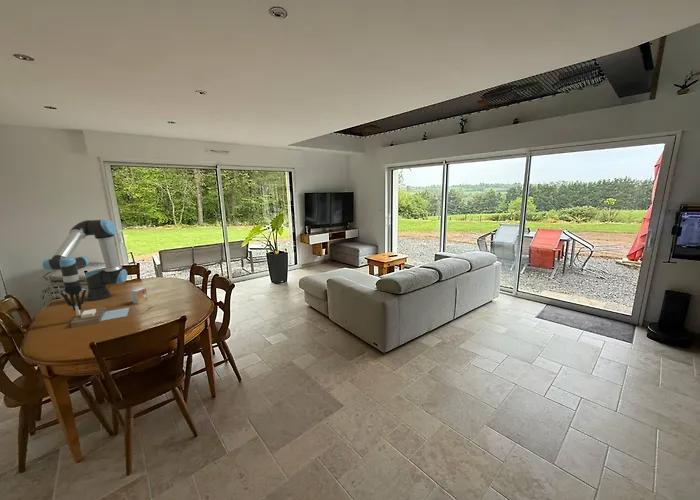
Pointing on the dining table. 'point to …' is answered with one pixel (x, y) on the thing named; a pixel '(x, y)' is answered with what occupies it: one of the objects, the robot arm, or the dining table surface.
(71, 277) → the robot arm
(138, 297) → the small box
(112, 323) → the dining table surface
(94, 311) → the white flat block
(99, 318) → the deck
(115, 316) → the mat
